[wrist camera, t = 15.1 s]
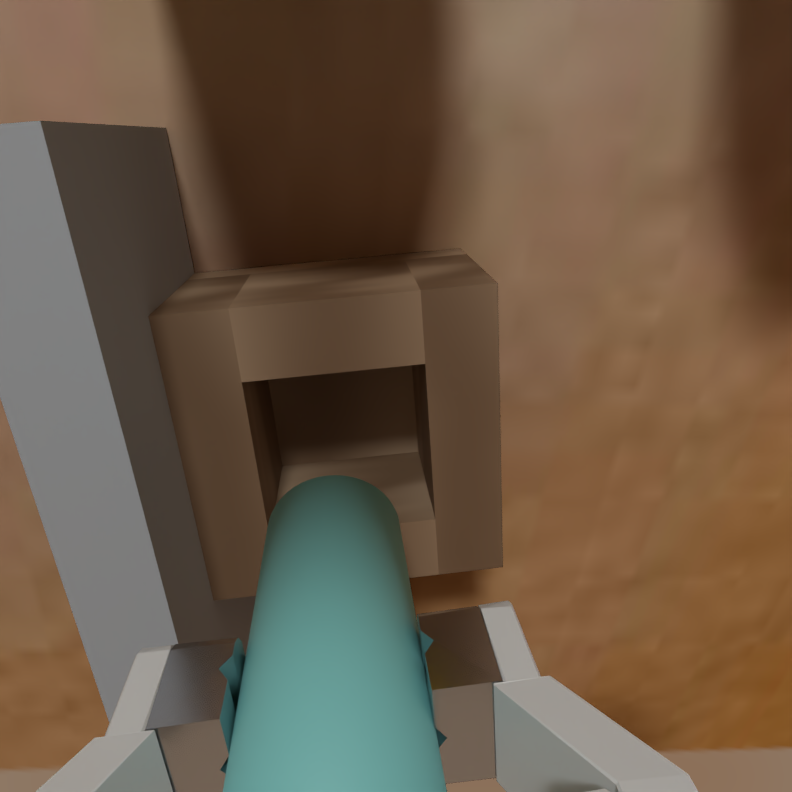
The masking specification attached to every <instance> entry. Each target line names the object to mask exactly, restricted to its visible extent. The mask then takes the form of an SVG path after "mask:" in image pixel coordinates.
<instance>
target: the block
mask: <svg viewBox="0 0 792 792" xmlns="http://www.w3.org/2000/svg"><path fill="white" fill-rule="evenodd" d="M148 318H149V322H150V326H151V331H152V335H153V339H154V344H155V348H156V352H157V357H158V361H159V365H160V370H161V374H162V379H163V383H164V387H165V392H166V396H167V400H168V405H169V409H170V413H171V418H172V422H173V426H174V431H175V435H176V439H177V444H178V448H179V452H180V457H181V461H182V466H183V470H184V474H185V479H186V483H187V487H188V492H189V496H190V500H191V505H192V509H193V513H194V518H195V522H196V526H197V531H198V535H199V539H200V544H201V548H202V553H203V557H204V561H205V566H206V570H207V574H208V579H209V583H210V587H211V592H212V596H213V600H214V601H215V600H224V599H232V598H241V597H250V596H256V592H257V586H258V581H259V575H260V569H261V563H262V557H263V551H264V545H265V539H266V533H267V527H268V523H269V519H270V516H271V513H272V511H273V509H274V507H275V506H276V504H277V503H278V502H279V500H280V499H281V498H282V497H283V496H284V495H285V494H286V493H287V492H288V491H290V490H291V489H292V488H293V487H295V486H297V485H299V484H300V483H302V482H305V481H307V480H310V479H313V478H316V477H321V476H328V475H342V476H349V477H354V478H357V479H361V480H363V481H366V482H368V483H370V484H372V485H373V486H375V487H376V488H378V489H379V490H380V491H381V492H383V493H384V494H385V495H386V496H387V497H388V499H389V500H390V501H391V503H392V504H393V506H394V508H395V510H396V512H397V515H398V518H399V523H400V529H401V535H402V540H403V546H404V552H405V557H406V563H407V569H408V574H409V578H413V577H422V576H431V575H439V574H448V573H456V572H465V571H474V570H482V569H491V568H499V567H503V547H502V492H501V436H500V380H499V324H498V283H497V282H496V281H495V280H494V279H493V278H492V277H491V276H490V275H489V274H488V273H486V272H485V271H484V270H483V269H482V268H481V267H480V266H479V265H478V264H477V263H476V262H474V261H473V260H472V259H471V258H470V257H469V256H468V255H467V254H466V253H465V252H464V251H462V250H461V249H449V250H438V251H428V252H417V253H406V254H395V255H384V256H374V257H363V258H352V259H341V260H331V261H320V262H309V263H298V264H287V265H277V266H266V267H255V268H244V269H233V270H223V271H212V272H201V273H194V274H193V275H192V276H191V277H190V278H189V279H188V280H187V281H185V282H184V283H183V284H182V285H181V286H180V287H179V288H178V289H177V290H176V291H175V292H174V293H173V294H171V295H170V296H169V297H168V298H167V299H166V300H165V301H164V302H163V303H162V304H161V305H160V306H159V307H158V308H156V309H155V310H154V311H153V312H152V313H151V314H150V315H149V316H148Z"/></svg>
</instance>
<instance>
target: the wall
mask: <svg viewBox="0 0 792 792" xmlns="http://www.w3.org/2000/svg"><path fill="white" fill-rule="evenodd" d="M193 274H194V268H193V263H192V258H191V253H190V248H189V243H188V238H187V233H186V228H185V223H184V218H183V212H182V207H181V202H180V197H179V192H178V187H177V182H176V177H175V172H174V167H173V162H172V157H171V152H170V146H169V141H168V136H167V131H166V128H158V127H140V126H122V125H105V124H87V123H69V122H52V121H32V122H20V123H8V124H0V398H1V401H2V404H3V407H4V410H5V413H6V416H7V419H8V422H9V425H10V428H11V431H12V434H13V437H14V440H15V443H16V446H17V449H18V452H19V455H20V458H21V461H22V464H23V466H24V469H25V472H26V475H27V478H28V481H29V484H30V487H31V490H32V493H33V496H34V499H35V502H36V505H37V508H38V511H39V514H40V517H41V520H42V523H43V526H44V529H45V532H46V535H47V538H48V541H49V544H50V547H51V550H52V553H53V556H54V559H55V562H56V565H57V568H58V571H59V574H60V577H61V580H62V583H63V586H64V589H65V592H66V594H67V597H68V600H69V603H70V606H71V609H72V612H73V615H74V618H75V621H76V624H77V627H78V630H79V633H80V636H81V639H82V642H83V645H84V648H85V651H86V654H87V657H88V660H89V663H90V666H91V669H92V672H93V675H94V678H95V681H96V684H97V687H98V690H99V693H100V696H101V699H102V702H103V705H104V708H105V711H106V714H107V717H108V720H109V722H110V721H111V718H112V716H113V713H114V710H115V708H116V705H117V703H118V700H119V698H120V695H121V692H122V690H123V687H124V685H125V682H126V680H127V677H128V674H129V672H130V669H131V667H132V664H133V661H134V659H135V656H136V655H137V654H138V653H139V652H140V651H141V650H142V648H150V647H159V646H168V645H175V644H181V643H191V642H200V641H210V640H219V639H229V638H239V639H240V640H241V641H242V644H243V648H244V652H245V656H246V651H247V645H248V639H249V634H250V628H251V622H252V616H253V610H254V604H255V598H256V596H250V597H241V598H232V599H224V600H215V601H214V600H213V596H212V592H211V587H210V583H209V579H208V574H207V570H206V566H205V561H204V557H203V553H202V548H201V544H200V539H199V535H198V531H197V526H196V522H195V518H194V513H193V509H192V505H191V500H190V496H189V492H188V487H187V483H186V479H185V474H184V470H183V466H182V461H181V457H180V452H179V448H178V444H177V439H176V435H175V431H174V426H173V422H172V418H171V413H170V409H169V405H168V400H167V396H166V392H165V387H164V383H163V379H162V374H161V370H160V365H159V361H158V357H157V352H156V348H155V344H154V339H153V335H152V331H151V326H150V322H149V318H148V316H149V315H150V314H151V313H152V312H153V311H154V310H155V309H156V308H158V307H159V306H160V305H161V304H162V303H163V302H164V301H165V300H166V299H167V298H168V297H169V296H170V295H171V294H173V293H174V292H175V291H176V290H177V289H178V288H179V287H180V286H181V285H182V284H183V283H184V282H185V281H187V280H188V279H189V278H190V277H191V276H192V275H193Z"/></svg>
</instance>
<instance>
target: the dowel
mask: <svg viewBox="0 0 792 792" xmlns="http://www.w3.org/2000/svg"><path fill="white" fill-rule="evenodd" d="M223 792H447V790H446V784H445V779H444V773H443V767H442V761H441V756H440V750H439V744H438V739H437V733H436V728H435V727H434V722H433V716H432V711H431V705H430V700H429V694H428V689H427V676H426V671H425V667H424V665H423V660H422V654H421V648H420V642H419V636H418V625H417V620H416V614H415V608H414V603H413V597H412V591H411V586H410V580H409V574H408V569H407V563H406V557H405V552H404V546H403V540H402V535H401V529H400V523H399V518H398V515H397V512H396V510H395V508H394V506H393V504H392V503H391V501H390V500H389V499H388V497H387V496H386V495H385V494H384V493H383V492H381V491H380V490H379V489H378V488H376V487H375V486H373V485H372V484H370V483H368V482H366V481H363V480H361V479H357V478H354V477H349V476H342V475H328V476H321V477H316V478H313V479H310V480H307V481H305V482H302V483H300V484H299V485H297V486H295V487H293V488H292V489H291V490H290V491H288V492H287V493H286V494H285V495H284V496H283V497H282V498H281V499H280V500H279V502H278V503H277V504H276V506H275V507H274V509H273V511H272V513H271V516H270V519H269V523H268V527H267V533H266V539H265V545H264V551H263V557H262V563H261V569H260V575H259V581H258V586H257V592H256V598H255V604H254V610H253V616H252V622H251V628H250V634H249V639H248V645H247V651H246V657H245V663H244V669H243V675H242V681H241V687H240V692H239V698H238V704H237V710H236V716H235V722H234V728H233V734H232V740H231V746H230V751H229V757H228V763H227V769H226V775H225V781H224V787H223Z"/></svg>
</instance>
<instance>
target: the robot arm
mask: <svg viewBox="0 0 792 792" xmlns="http://www.w3.org/2000/svg"><path fill="white" fill-rule="evenodd" d="M417 625H418V636H419V642H420V648H421V654H422V660H423V665H424V667H425V671H426V676H427V689H428V694H429V700H430V705H431V711H432V716H433V722H434V727H435V728H436V733H437V739H438V744H439V750H440V756H441V761H442V767H443V773H444V779H445V784H447V783H456V782H464V781H474V780H482V779H491V778H497V782H498V783H499V784H500V785H501V786H502V787H503V788H504V790H505V791H506V792H698V790H697V788H696V787H695V785H694V783H693V781H692V780H691V778H690V776H689V774H687V773H686V772H684V771H683V770H682V769H680V768H679V767H678V766H676V765H675V764H673V763H672V762H671V761H669V760H668V759H666V758H665V757H663V756H662V755H661V754H659V753H658V752H657V751H655V750H654V749H652V748H651V747H650V746H648V745H647V744H645V743H644V742H643V741H641V740H640V739H638V738H637V737H636V736H634V735H633V734H631V733H630V732H628V731H627V730H626V729H624V728H623V727H621V726H620V725H619V724H617V723H616V722H614V721H613V720H612V719H610V718H609V717H607V716H606V715H605V714H603V713H602V712H600V711H599V710H598V709H596V708H595V707H593V706H592V705H591V704H589V703H588V702H586V701H585V700H584V699H582V698H581V697H579V696H578V695H577V694H575V693H574V692H572V691H571V690H570V689H568V688H567V687H565V686H564V685H563V684H561V683H560V682H558V681H557V680H555V679H554V678H553V677H551V676H544V677H541V676H540V674H539V671H538V668H537V666H536V663H535V661H534V658H533V656H532V653H531V651H530V648H529V646H528V643H527V641H526V638H525V636H524V633H523V631H522V628H521V625H520V623H519V620H518V618H517V615H516V613H515V610H514V608H513V605H512V604H511V603H510V602H509V601H503V602H496V603H490V604H483V605H478V607H477V606H474V607H467V608H459V609H452V610H445V611H437V612H430V613H423V614H417ZM245 657H246V656H245V652H244V648H243V644H242V641H241V640H240V639H239V638H229V639H219V640H210V641H200V642H191V643H181V644H175V645H168V646H159V647H150V648H142V650H141V651H140V652H139V653H138V654H137V655H136V656H135V659H134V661H133V664H132V667H131V669H130V672H129V674H128V677H127V680H126V682H125V685H124V687H123V690H122V692H121V695H120V698H119V700H118V703H117V705H116V708H115V710H114V713H113V716H112V718H111V721H110V723H109V726H108V729H107V731H106V734H105V736H104V737H98V738H94V739H93V740H92V741H90V742H89V743H88V744H87V745H86V746H85V747H84V748H83V749H82V750H81V751H80V752H78V753H77V754H76V755H75V756H74V757H73V758H72V759H71V760H70V761H69V762H68V763H66V764H65V765H64V766H63V767H62V768H61V769H60V770H59V771H58V772H57V773H56V774H54V775H53V776H52V777H51V778H50V779H49V780H48V781H47V782H46V783H45V784H44V785H42V786H41V787H40V788H39V789H38V790H37V791H36V792H223V787H224V781H225V775H226V769H227V763H228V757H229V751H230V746H231V740H232V734H233V728H234V722H235V716H236V710H237V704H238V698H239V692H240V687H241V681H242V675H243V669H244V663H245Z"/></svg>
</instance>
